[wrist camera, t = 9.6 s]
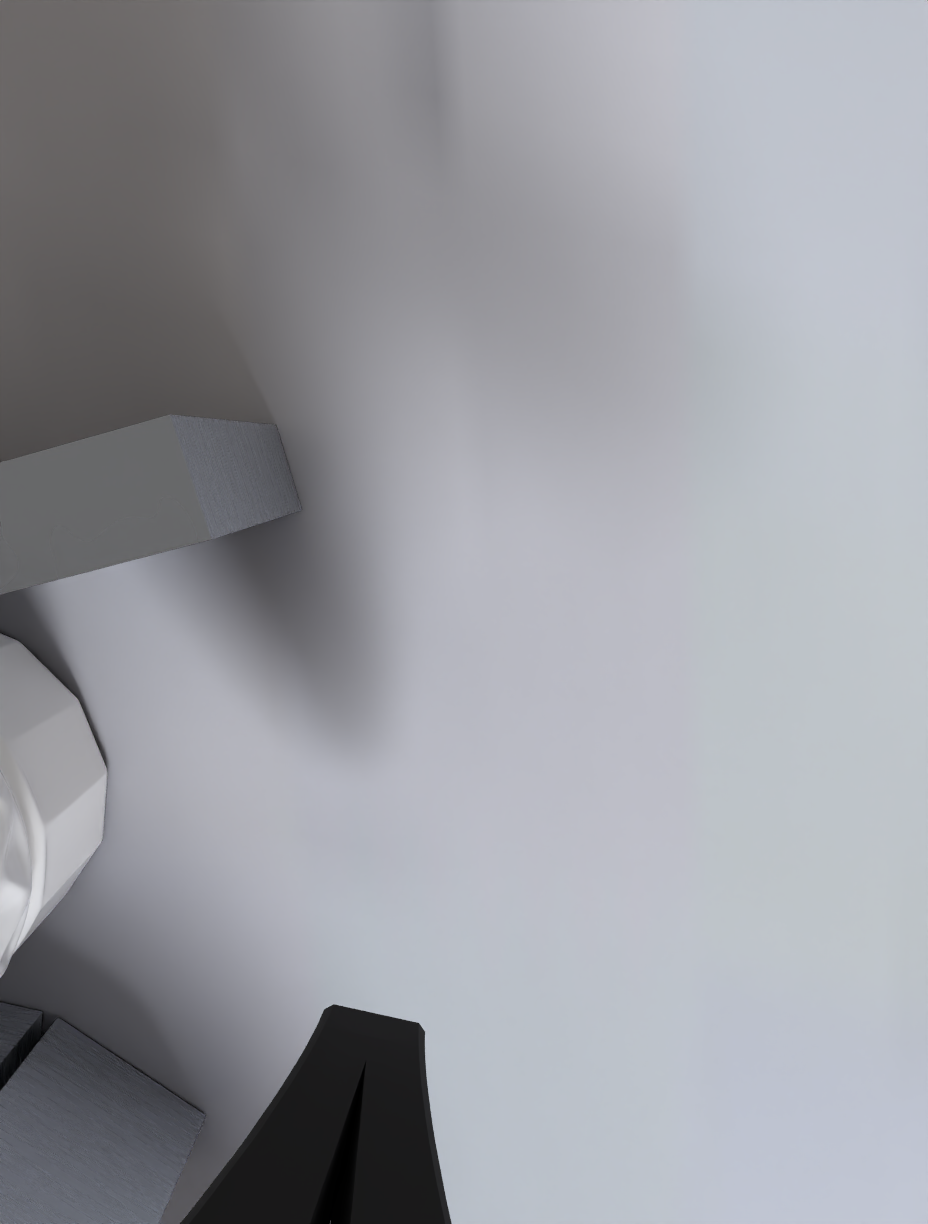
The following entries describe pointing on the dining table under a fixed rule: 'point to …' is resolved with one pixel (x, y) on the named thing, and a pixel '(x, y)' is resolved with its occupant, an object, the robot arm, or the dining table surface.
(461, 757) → the dining table surface
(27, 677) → the white cup
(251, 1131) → the robot arm
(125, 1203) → the tray
